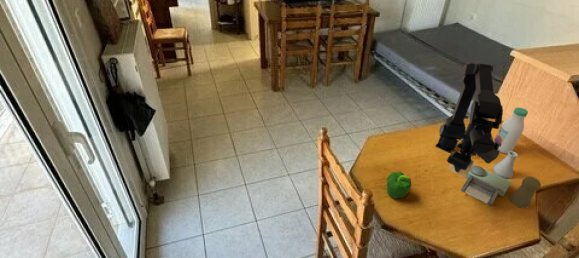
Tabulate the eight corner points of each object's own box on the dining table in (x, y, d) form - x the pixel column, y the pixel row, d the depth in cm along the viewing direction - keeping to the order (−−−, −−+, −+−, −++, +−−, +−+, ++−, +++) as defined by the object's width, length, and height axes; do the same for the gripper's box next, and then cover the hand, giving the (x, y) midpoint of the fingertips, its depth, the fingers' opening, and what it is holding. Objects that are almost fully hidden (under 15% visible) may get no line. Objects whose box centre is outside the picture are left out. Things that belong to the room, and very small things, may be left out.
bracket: (460, 190, 118) (462, 185, 116) (468, 179, 122) (470, 174, 121) (490, 206, 112) (493, 201, 110) (497, 193, 116) (500, 189, 115)
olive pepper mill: (506, 195, 116) (519, 174, 109) (521, 194, 116) (535, 173, 109) (516, 208, 111) (531, 187, 104) (533, 207, 111) (548, 186, 105)
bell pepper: (379, 191, 117) (384, 172, 111) (393, 182, 121) (398, 163, 115) (397, 206, 112) (403, 186, 106) (411, 195, 116) (418, 176, 110)
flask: (515, 180, 122) (527, 161, 116) (495, 177, 123) (506, 158, 117) (509, 167, 128) (519, 148, 122) (489, 165, 129) (499, 146, 123)
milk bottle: (512, 146, 138) (533, 108, 126) (511, 156, 133) (532, 117, 121) (492, 140, 142) (511, 103, 130) (490, 150, 136) (510, 111, 124)
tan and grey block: (447, 169, 113) (452, 157, 109) (452, 163, 115) (457, 151, 112) (464, 177, 109) (470, 166, 106) (469, 171, 112) (475, 159, 109)
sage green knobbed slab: (464, 177, 123) (467, 170, 121) (470, 168, 127) (473, 161, 125) (503, 196, 115) (506, 189, 113) (508, 186, 119) (512, 179, 117)
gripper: (491, 159, 92) (473, 194, 102) (511, 131, 103) (492, 166, 112) (453, 142, 99) (439, 177, 108) (475, 118, 109) (461, 151, 119)
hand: (459, 168), depth 112 cm, fingers closed on tan and grey block, 4 cm apart
